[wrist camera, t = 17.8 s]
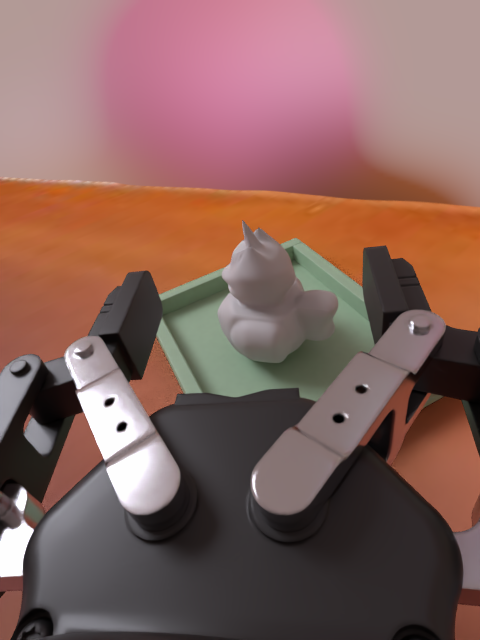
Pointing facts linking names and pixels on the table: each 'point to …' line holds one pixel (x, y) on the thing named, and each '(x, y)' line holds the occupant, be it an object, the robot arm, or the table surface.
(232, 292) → the white plastic figurine
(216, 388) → the tray
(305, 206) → the table surface
